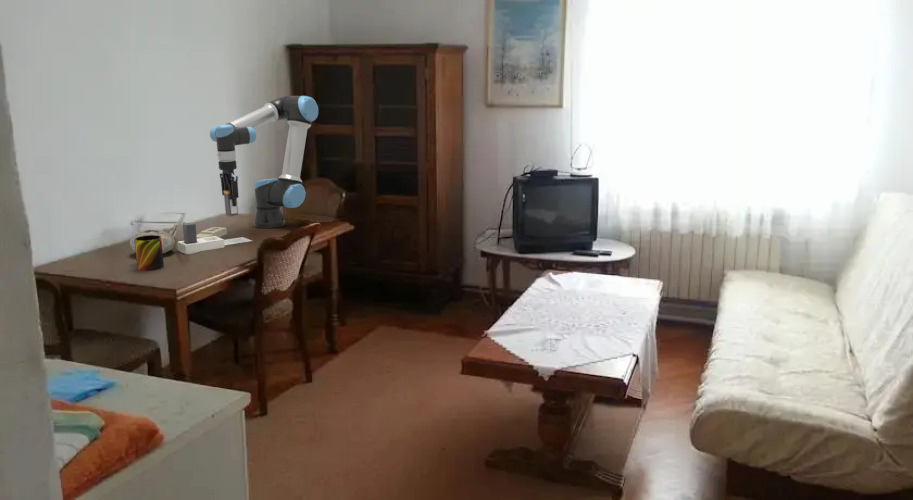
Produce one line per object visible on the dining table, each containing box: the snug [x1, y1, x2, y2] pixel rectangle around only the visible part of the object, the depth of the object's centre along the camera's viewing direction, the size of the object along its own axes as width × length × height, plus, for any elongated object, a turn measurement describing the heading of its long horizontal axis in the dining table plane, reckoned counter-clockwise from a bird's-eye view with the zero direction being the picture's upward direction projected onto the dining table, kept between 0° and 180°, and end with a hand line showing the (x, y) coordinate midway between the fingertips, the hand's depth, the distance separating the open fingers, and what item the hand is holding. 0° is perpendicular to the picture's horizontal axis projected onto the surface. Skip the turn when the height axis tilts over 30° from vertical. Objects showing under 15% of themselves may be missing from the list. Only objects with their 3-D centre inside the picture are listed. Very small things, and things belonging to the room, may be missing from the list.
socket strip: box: [177, 220, 225, 256], centre depth 336 cm, size 17×9×13 cm, turn 131°
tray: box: [224, 236, 253, 246], centre depth 351 cm, size 14×10×1 cm
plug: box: [223, 190, 239, 217], centre depth 347 cm, size 4×4×11 cm
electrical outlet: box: [196, 226, 228, 239], centre depth 358 cm, size 7×4×18 cm
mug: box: [134, 235, 165, 272], centre depth 308 cm, size 10×14×12 cm
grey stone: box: [129, 228, 176, 254], centre depth 330 cm, size 18×18×10 cm
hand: (231, 212), depth 348 cm, fingers closed on plug, 4 cm apart
